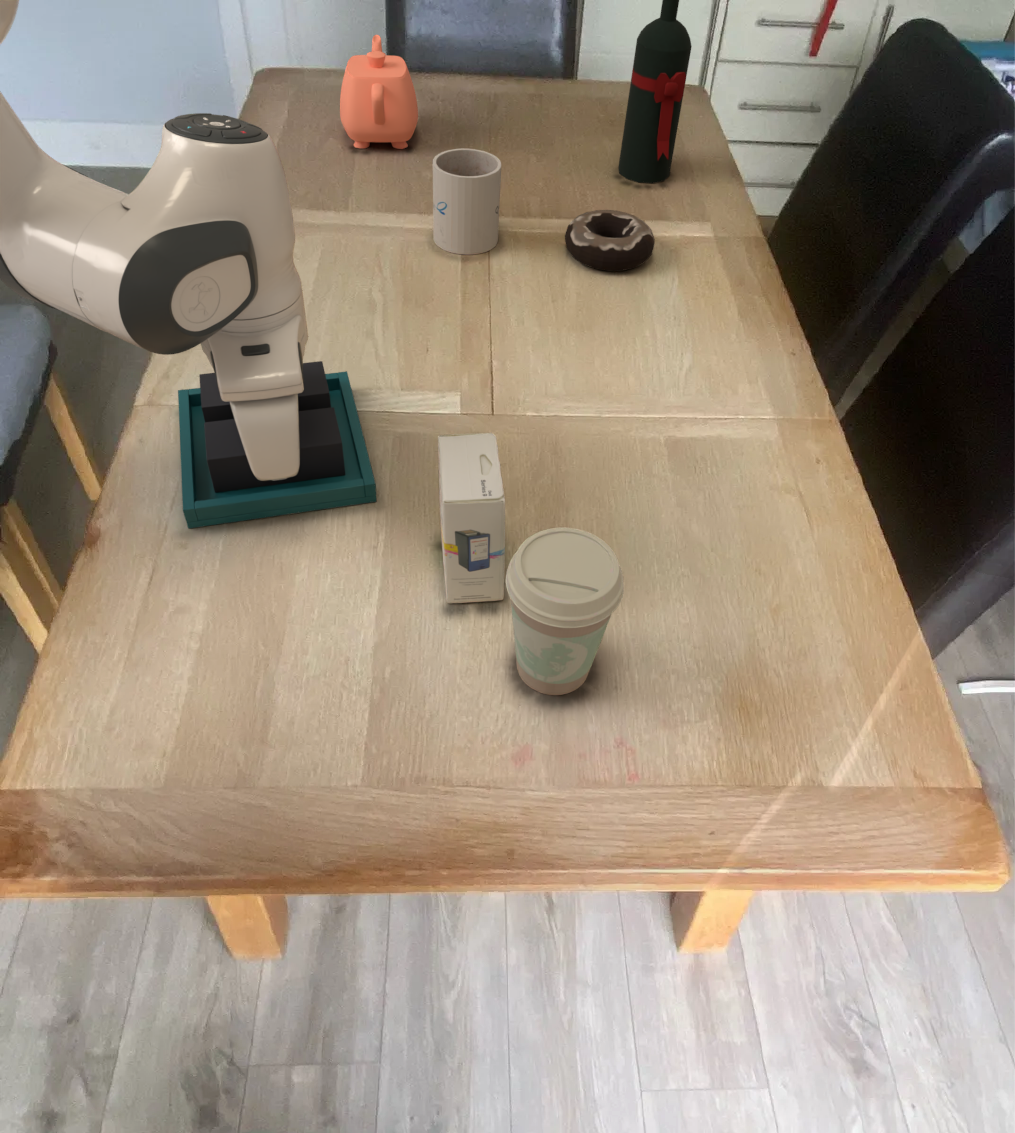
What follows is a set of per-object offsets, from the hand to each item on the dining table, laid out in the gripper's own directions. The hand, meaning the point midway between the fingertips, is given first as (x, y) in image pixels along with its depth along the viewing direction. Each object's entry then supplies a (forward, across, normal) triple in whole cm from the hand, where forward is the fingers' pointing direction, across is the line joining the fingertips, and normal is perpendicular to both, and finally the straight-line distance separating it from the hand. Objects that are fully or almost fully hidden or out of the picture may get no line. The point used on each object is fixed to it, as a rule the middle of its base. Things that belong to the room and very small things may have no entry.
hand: (275, 451), depth 85 cm
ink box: (+3, +16, +15) cm, 22 cm away
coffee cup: (+3, +28, +19) cm, 34 cm away
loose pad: (+2, 0, 0) cm, 2 cm away
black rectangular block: (+2, -8, 0) cm, 8 cm away
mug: (+3, -44, +29) cm, 53 cm away
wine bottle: (+3, -57, +60) cm, 83 cm away
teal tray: (+2, -3, 0) cm, 4 cm away
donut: (+3, -35, +46) cm, 58 cm away
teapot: (+3, -77, +23) cm, 80 cm away
